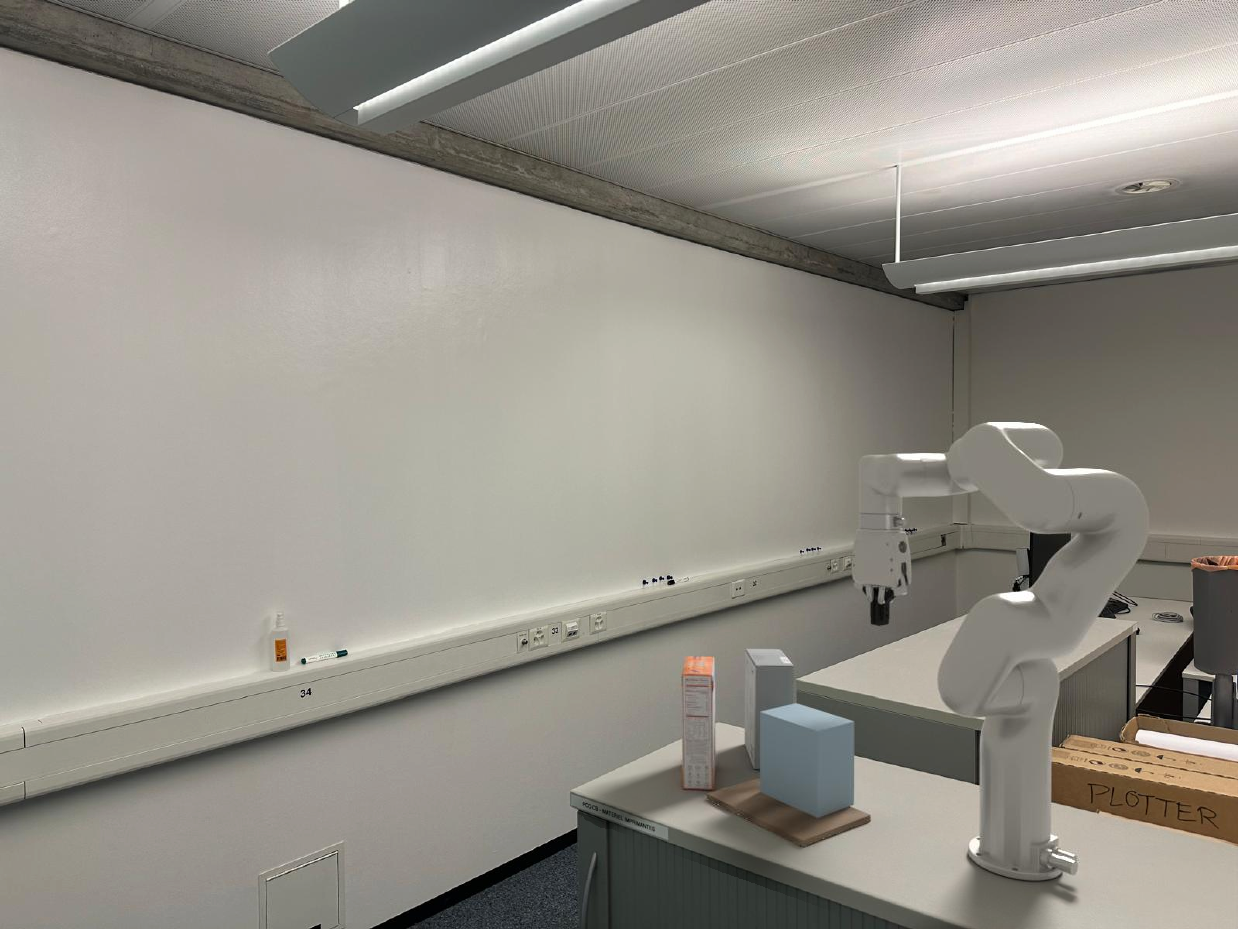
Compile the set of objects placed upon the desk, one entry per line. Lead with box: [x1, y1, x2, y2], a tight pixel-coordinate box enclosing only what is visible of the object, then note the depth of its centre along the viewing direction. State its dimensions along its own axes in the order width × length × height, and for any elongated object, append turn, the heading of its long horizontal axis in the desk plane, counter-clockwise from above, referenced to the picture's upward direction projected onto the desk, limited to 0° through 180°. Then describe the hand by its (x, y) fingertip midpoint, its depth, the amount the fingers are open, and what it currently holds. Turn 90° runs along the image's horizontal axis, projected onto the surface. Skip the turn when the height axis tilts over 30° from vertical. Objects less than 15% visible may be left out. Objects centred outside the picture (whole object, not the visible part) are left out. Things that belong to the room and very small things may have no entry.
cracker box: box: [681, 655, 716, 791], centre depth 157 cm, size 14×6×21 cm, turn 172°
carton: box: [759, 702, 855, 818], centre depth 145 cm, size 13×14×9 cm
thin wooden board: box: [706, 777, 872, 848], centre depth 142 cm, size 22×16×1 cm
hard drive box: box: [744, 648, 795, 770], centre depth 168 cm, size 16×8×20 cm, turn 179°
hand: (879, 624), depth 153 cm, fingers closed
